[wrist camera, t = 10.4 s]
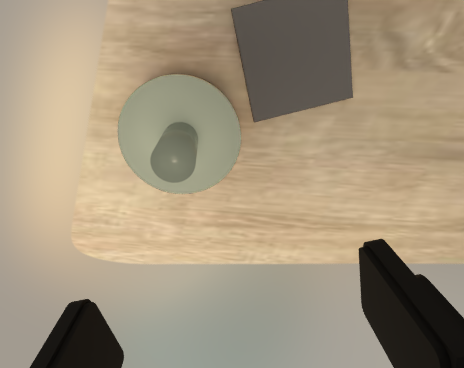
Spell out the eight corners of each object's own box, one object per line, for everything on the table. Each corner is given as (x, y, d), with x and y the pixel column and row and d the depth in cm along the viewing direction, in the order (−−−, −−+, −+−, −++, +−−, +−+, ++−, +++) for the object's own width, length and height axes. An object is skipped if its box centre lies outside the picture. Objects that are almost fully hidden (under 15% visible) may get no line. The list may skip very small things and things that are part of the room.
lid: (224, 59, 25) (230, 62, 18) (250, 174, 29) (261, 209, 23) (101, 91, 25) (63, 104, 19) (146, 199, 30) (128, 241, 23)
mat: (344, -21, 27) (346, -22, 27) (350, 96, 32) (352, 97, 31) (231, 9, 28) (231, 8, 27) (253, 121, 32) (254, 122, 32)
